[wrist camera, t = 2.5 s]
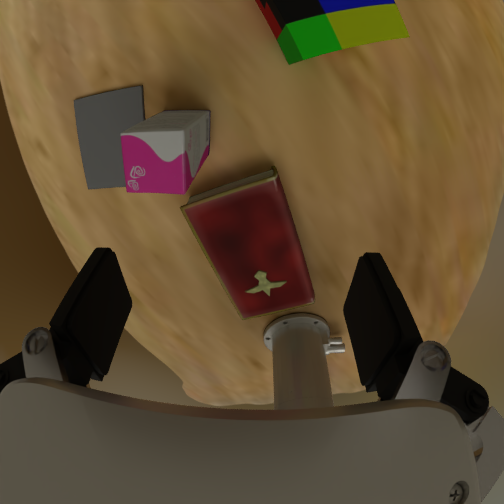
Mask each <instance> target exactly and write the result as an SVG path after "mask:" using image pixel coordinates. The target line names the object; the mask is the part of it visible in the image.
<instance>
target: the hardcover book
mask: <svg viewBox="0 0 504 504" xmlns="http://www.w3.org/2000/svg"><path fill="white" fill-rule="evenodd" d="M180 209H181V211H182V213H183V215H184V217H185V219H186V220H187V222H188V224H189V226H190V228H191V230H192V232H193V234H194V235H195V237H196V239H197V241H198V243H199V245H200V247H201V248H202V250H203V252H204V254H205V256H206V258H207V259H208V261H209V263H210V265H211V267H212V268H213V270H214V272H215V274H216V275H217V277H218V279H219V281H220V283H221V284H222V286H223V288H224V290H225V291H226V293H227V295H228V297H229V298H230V300H231V302H232V304H233V305H234V307H235V309H236V310H237V312H238V314H239V316H240V317H241V319H242V320H246V319H250V318H255V317H260V316H264V315H269V314H273V313H277V312H282V311H286V310H290V309H294V308H298V307H302V306H306V305H310V304H314V302H315V294H314V290H313V286H312V283H311V279H310V276H309V272H308V269H307V265H306V262H305V258H304V255H303V251H302V248H301V245H300V241H299V238H298V235H297V231H296V228H295V225H294V222H293V218H292V215H291V212H290V209H289V206H288V203H287V199H286V196H285V193H284V190H283V187H282V184H281V181H280V178H279V175H278V172H277V169H276V167H275V166H272V170H270V171H266V172H263V173H260V174H257V175H254V176H250V177H247V178H244V179H241V180H238V181H235V182H232V183H229V184H226V185H223V186H220V187H217V188H214V189H211V190H209V191H206V192H203V193H200V194H197V195H195V196H192V197H190V198H189V201H188V203H187V204H186V205H183V206H181V207H180Z"/></svg>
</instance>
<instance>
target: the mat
mask: <svg viewBox="0 0 504 504" xmlns="http://www.w3.org/2000/svg"><path fill="white" fill-rule="evenodd" d="M74 108H75V117H76V125H77V132H78V139H79V145H80V151H81V156H82V162H83V167H84V172H85V177H86V181H87V186H88V189H99V188H113V187H126V182H125V174H124V165H123V156H122V146H121V133H122V132H123V131H125V130H127V129H129V128H131V127H133V126H134V125H136V124H138V123H140V122H142V121H144V120H145V113H144V98H143V85H142V86H136V87H130V88H125V89H120V90H115V91H110V92H105V93H101V94H97V95H93V96H89V97H85V98H81V99H77V100H74Z"/></svg>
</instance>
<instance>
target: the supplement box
mask: <svg viewBox="0 0 504 504" xmlns="http://www.w3.org/2000/svg"><path fill="white" fill-rule="evenodd" d="M121 146H122V156H123V165H124V174H125V182H126V189H127V192H132V193H133V192H134V193H168V194H185V193H186V191H187V190H188V188H189V186H190V185H191V183H192V181H193V179H194V178H195V176H196V174H197V173H198V171H199V169H200V168H201V166H202V164H203V163H204V161H205V160H206V158H207V156H208V155H209V146H210V110H167V111H163V112H161V113H158V114H157V115H155V116H152V117H150V118H148V119H146V120H144V121H142V122H140V123H138V124H136V125H134V126H133V127H131V128H129V129H127V130H125V131H123V132H122V133H121Z"/></svg>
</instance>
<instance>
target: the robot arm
mask: <svg viewBox="0 0 504 504" xmlns="http://www.w3.org/2000/svg"><path fill="white" fill-rule="evenodd" d="M131 308H132V299H131V297H130V294H129V291H128V289H127V286H126V283H125V280H124V277H123V275H122V272H121V269H120V266H119V263H118V260H117V257H116V254H115V252H113V251H112V250H111V249H110V248H96V249H95V250H94V251H93V253H92V254H91V256H90V257H89V259H88V260H87V262H86V263H85V265H84V266H83V268H82V269H81V271H80V272H79V274H78V275H77V277H76V279H75V280H74V282H73V283H72V285H71V287H70V288H69V290H68V292H67V293H66V295H65V296H64V298H63V300H62V302H61V303H60V305H59V307H58V309H57V310H56V312H55V314H54V316H53V318H52V319H51V321H50V323H49V324H50V326H51V328H50V330H48V329H47V328H44V327H38V328H35V329H33V330H32V331H30V332H29V333H28V334H27V335H26V337H25V338H24V341H23V344H22V352H20V353H18V354H17V355H15V356H14V357H12V358H10V359H8V360H7V361H5V362H3V363H2V364H0V504H481V502H482V501H483V499H484V498H485V496H486V495H487V494H488V493H489V491H490V490H491V488H492V486H493V485H494V484H495V482H496V481H497V479H498V478H499V476H500V475H501V473H502V471H503V470H504V419H503V418H502V416H501V415H500V414H499V413H498V412H497V410H496V409H495V408H494V407H493V406H491V407H489V398H488V395H487V392H486V390H485V389H484V388H483V387H482V386H481V385H480V384H478V383H476V382H475V381H473V380H472V379H470V378H468V377H467V376H465V375H464V374H462V373H460V372H459V371H457V370H456V369H454V368H452V367H451V358H450V355H449V353H448V351H447V349H446V348H445V347H444V346H443V345H441V344H440V343H438V342H435V341H425V342H423V340H422V337H421V335H420V333H419V330H418V328H417V326H416V323H415V321H414V319H413V317H412V314H411V312H410V310H409V308H408V306H407V304H406V301H405V299H404V297H403V295H402V293H401V291H400V289H399V288H398V287H397V285H396V283H395V281H394V279H393V277H392V275H391V273H390V271H389V269H388V267H387V265H386V263H385V261H384V259H383V257H382V256H381V254H380V253H367V252H366V253H365V254H364V255H363V256H360V257H359V260H358V263H357V267H356V270H355V273H354V276H353V279H352V283H351V286H350V289H349V292H348V295H347V298H346V301H345V304H344V308H343V311H344V317H345V320H346V324H347V328H348V332H349V336H350V339H351V343H352V347H353V351H354V356H355V360H356V364H357V368H358V373H359V377H360V382H361V384H362V385H363V386H365V387H366V392H373V391H377V393H378V396H379V399H378V401H377V402H370V403H363V404H354V405H345V406H335V407H334V403H333V398H332V391H331V384H330V378H329V372H328V366H327V360H326V355H329V353H344V351H345V344H344V343H342V337H335V338H330V337H329V336H330V330H329V326H328V324H327V322H326V321H325V320H324V319H322V318H321V317H318V316H316V315H312V314H306V313H298V314H291V315H287V316H283V317H281V318H278V319H277V320H275V321H273V322H272V323H271V324H269V325H268V327H267V328H266V329H265V331H264V343H265V345H266V347H267V348H268V349H269V350H271V351H272V352H273V381H274V410H243V409H220V408H207V407H195V406H185V405H177V404H169V403H162V402H155V401H148V400H143V399H137V398H132V397H127V396H122V395H117V394H113V393H108V392H104V391H99V390H95V389H91V388H90V385H89V381H90V378H91V379H94V380H98V381H102V380H103V377H104V375H106V374H107V373H108V371H109V368H110V365H111V362H112V359H113V356H114V353H115V351H116V348H117V345H118V342H119V339H120V337H121V334H122V331H123V329H124V326H125V323H126V321H127V318H128V316H129V313H130V311H131Z"/></svg>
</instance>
